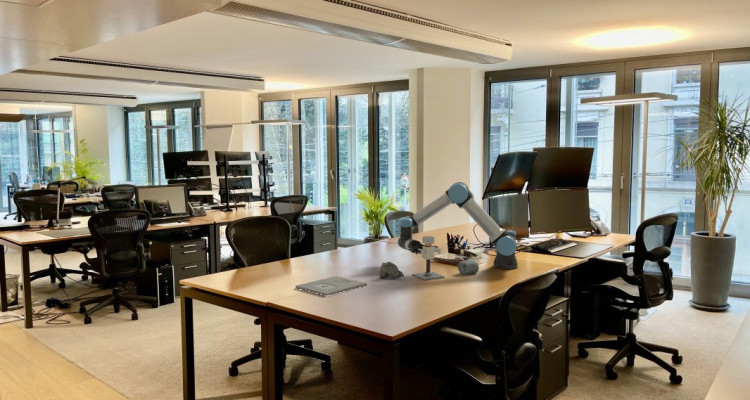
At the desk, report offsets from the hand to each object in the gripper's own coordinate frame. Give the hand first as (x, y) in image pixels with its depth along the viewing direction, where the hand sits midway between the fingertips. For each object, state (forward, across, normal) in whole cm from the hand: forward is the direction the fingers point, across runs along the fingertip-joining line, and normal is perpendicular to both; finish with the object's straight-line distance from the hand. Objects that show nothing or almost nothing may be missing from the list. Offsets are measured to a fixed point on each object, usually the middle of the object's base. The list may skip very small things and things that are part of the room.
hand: (432, 252), depth 326 cm
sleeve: (-4, 0, -4) cm, 6 cm away
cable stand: (-4, 0, -15) cm, 16 cm away
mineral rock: (-9, +22, -16) cm, 28 cm away
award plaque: (-6, +60, -16) cm, 62 cm away
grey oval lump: (0, -25, -16) cm, 30 cm away
